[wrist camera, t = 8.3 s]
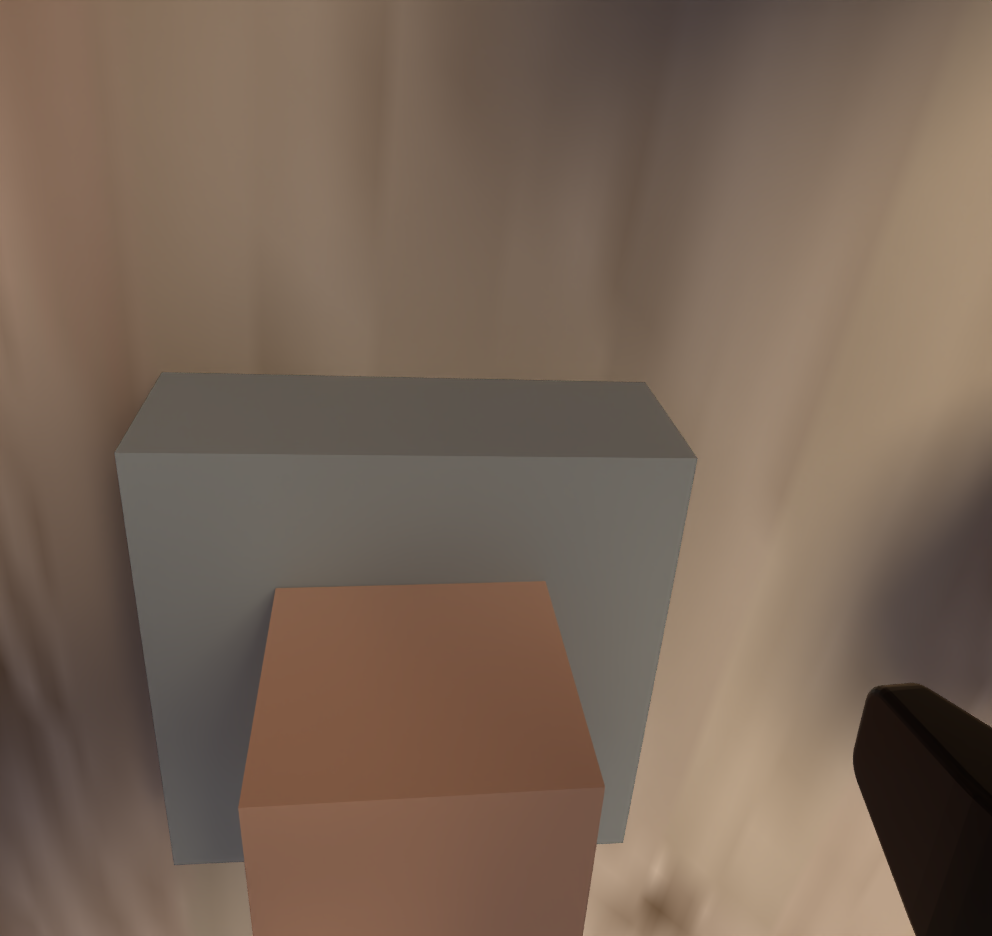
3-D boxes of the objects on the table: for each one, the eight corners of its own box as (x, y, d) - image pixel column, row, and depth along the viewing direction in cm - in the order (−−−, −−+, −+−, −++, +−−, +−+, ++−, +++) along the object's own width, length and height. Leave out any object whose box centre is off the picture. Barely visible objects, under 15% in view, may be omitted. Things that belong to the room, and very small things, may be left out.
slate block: (640, 375, 19) (697, 458, 16) (587, 719, 24) (622, 842, 21) (166, 364, 18) (114, 452, 15) (206, 731, 23) (174, 864, 19)
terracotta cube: (545, 580, 17) (605, 787, 12) (527, 772, 19) (572, 1003, 15) (275, 588, 16) (238, 808, 12) (290, 785, 18) (264, 1030, 14)
